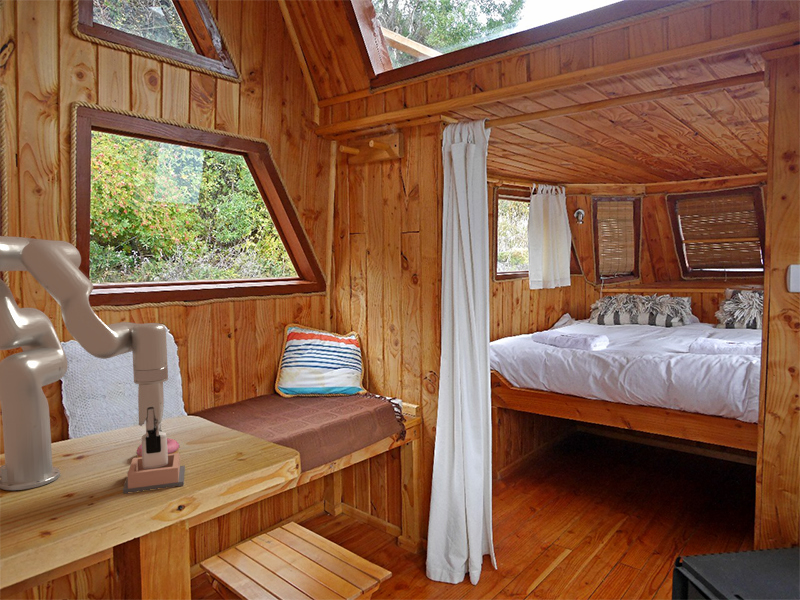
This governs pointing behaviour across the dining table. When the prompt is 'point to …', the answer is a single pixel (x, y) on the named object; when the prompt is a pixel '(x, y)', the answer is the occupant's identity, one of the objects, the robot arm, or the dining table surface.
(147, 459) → the squeeze bottle
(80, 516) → the dining table surface
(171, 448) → the doughnut
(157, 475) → the socket stand
